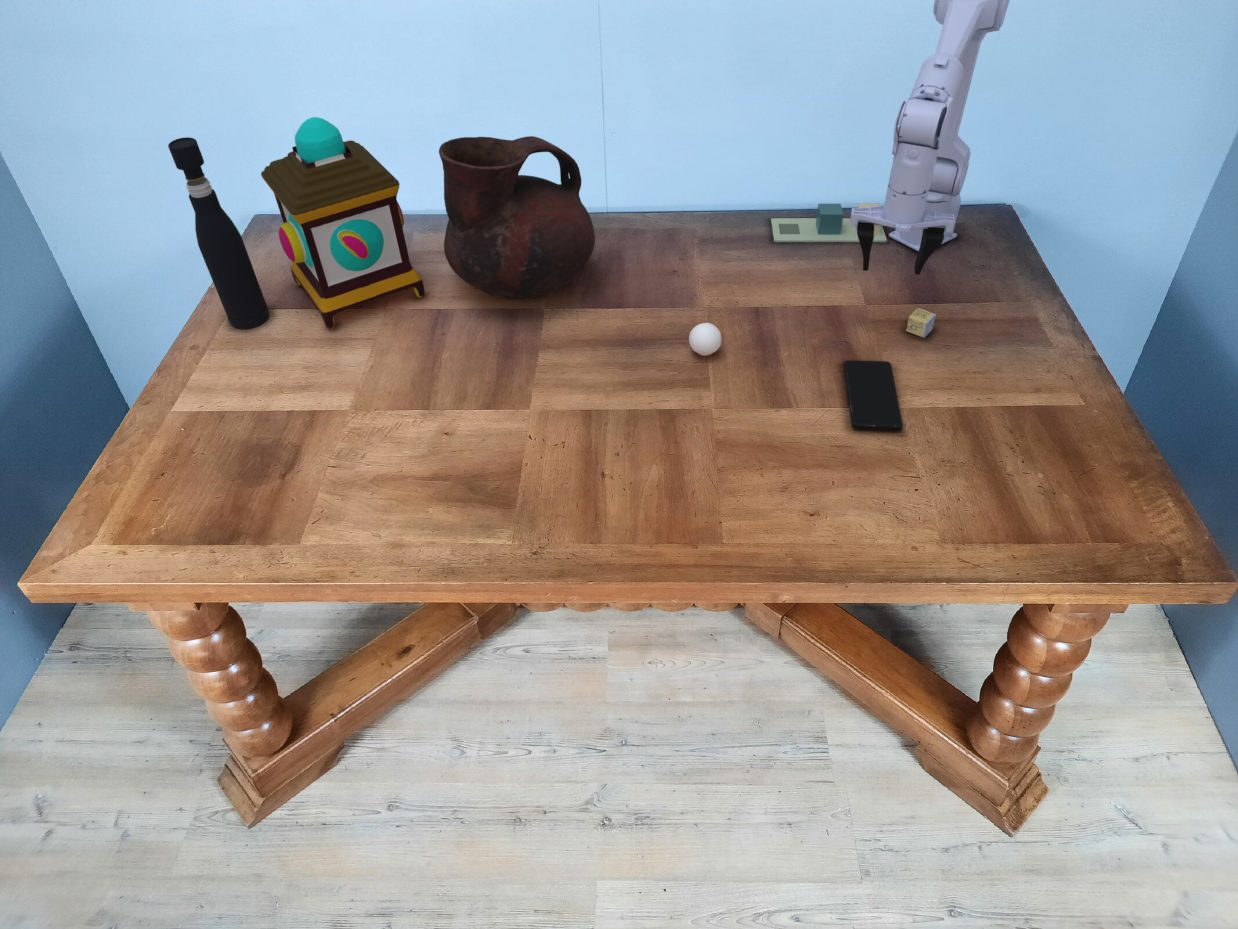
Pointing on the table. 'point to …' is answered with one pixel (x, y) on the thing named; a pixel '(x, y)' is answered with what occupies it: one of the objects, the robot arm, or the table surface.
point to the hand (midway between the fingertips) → (891, 269)
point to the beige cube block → (876, 227)
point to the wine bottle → (220, 243)
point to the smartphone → (872, 395)
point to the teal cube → (829, 219)
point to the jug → (512, 217)
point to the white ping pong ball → (705, 339)
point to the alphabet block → (921, 322)
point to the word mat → (814, 231)
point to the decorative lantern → (340, 221)
